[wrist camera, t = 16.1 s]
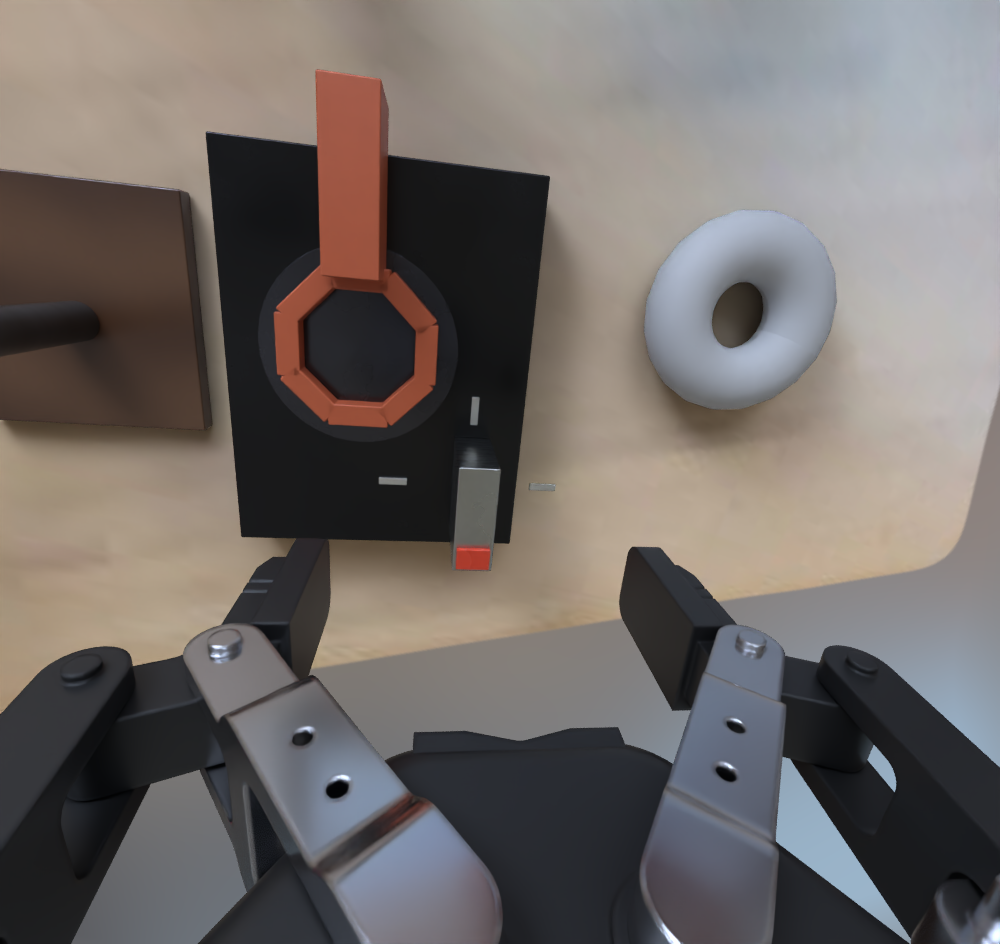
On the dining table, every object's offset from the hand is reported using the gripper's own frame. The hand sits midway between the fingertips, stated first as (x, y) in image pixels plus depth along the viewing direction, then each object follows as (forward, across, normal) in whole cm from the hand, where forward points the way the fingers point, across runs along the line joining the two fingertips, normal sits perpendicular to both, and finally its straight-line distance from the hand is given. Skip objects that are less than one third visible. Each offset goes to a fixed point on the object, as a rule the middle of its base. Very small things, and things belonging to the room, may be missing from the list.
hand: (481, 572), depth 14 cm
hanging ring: (+13, +5, -7) cm, 16 cm away
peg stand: (+16, +18, -4) cm, 24 cm away
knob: (+13, -1, +3) cm, 13 cm away
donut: (+16, -14, -7) cm, 23 cm away
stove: (+16, +3, -2) cm, 17 cm away
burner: (+13, +5, -4) cm, 15 cm away
